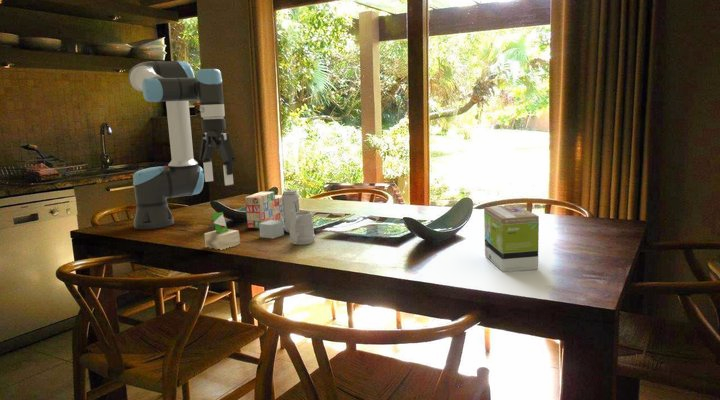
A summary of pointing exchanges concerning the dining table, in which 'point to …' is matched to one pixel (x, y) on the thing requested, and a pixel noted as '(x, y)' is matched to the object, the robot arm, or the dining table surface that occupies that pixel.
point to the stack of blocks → (263, 208)
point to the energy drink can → (289, 206)
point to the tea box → (511, 238)
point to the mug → (301, 227)
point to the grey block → (271, 229)
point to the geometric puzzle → (219, 222)
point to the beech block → (222, 239)
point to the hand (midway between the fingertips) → (219, 183)
